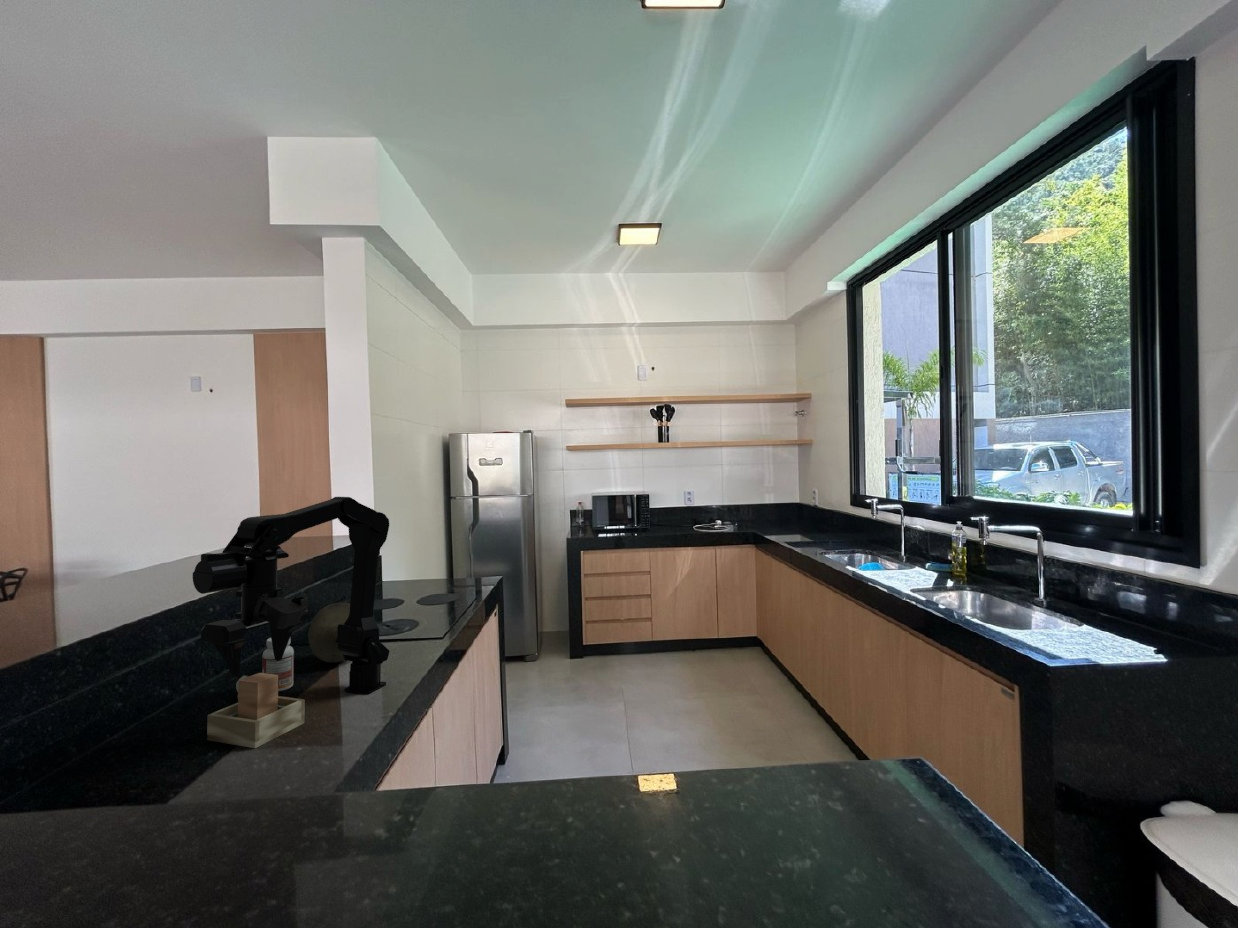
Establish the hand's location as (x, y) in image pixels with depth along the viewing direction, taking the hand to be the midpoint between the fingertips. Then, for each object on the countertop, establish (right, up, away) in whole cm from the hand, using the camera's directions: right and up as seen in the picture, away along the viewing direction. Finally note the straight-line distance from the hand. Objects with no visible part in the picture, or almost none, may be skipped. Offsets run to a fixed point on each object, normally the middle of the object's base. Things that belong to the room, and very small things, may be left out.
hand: (257, 667), depth 111 cm
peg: (0, -11, 0) cm, 11 cm away
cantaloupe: (-4, -13, +40) cm, 42 cm away
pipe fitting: (-12, -13, +17) cm, 24 cm away
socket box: (0, -12, 0) cm, 12 cm away
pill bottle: (-9, -12, +22) cm, 27 cm away
